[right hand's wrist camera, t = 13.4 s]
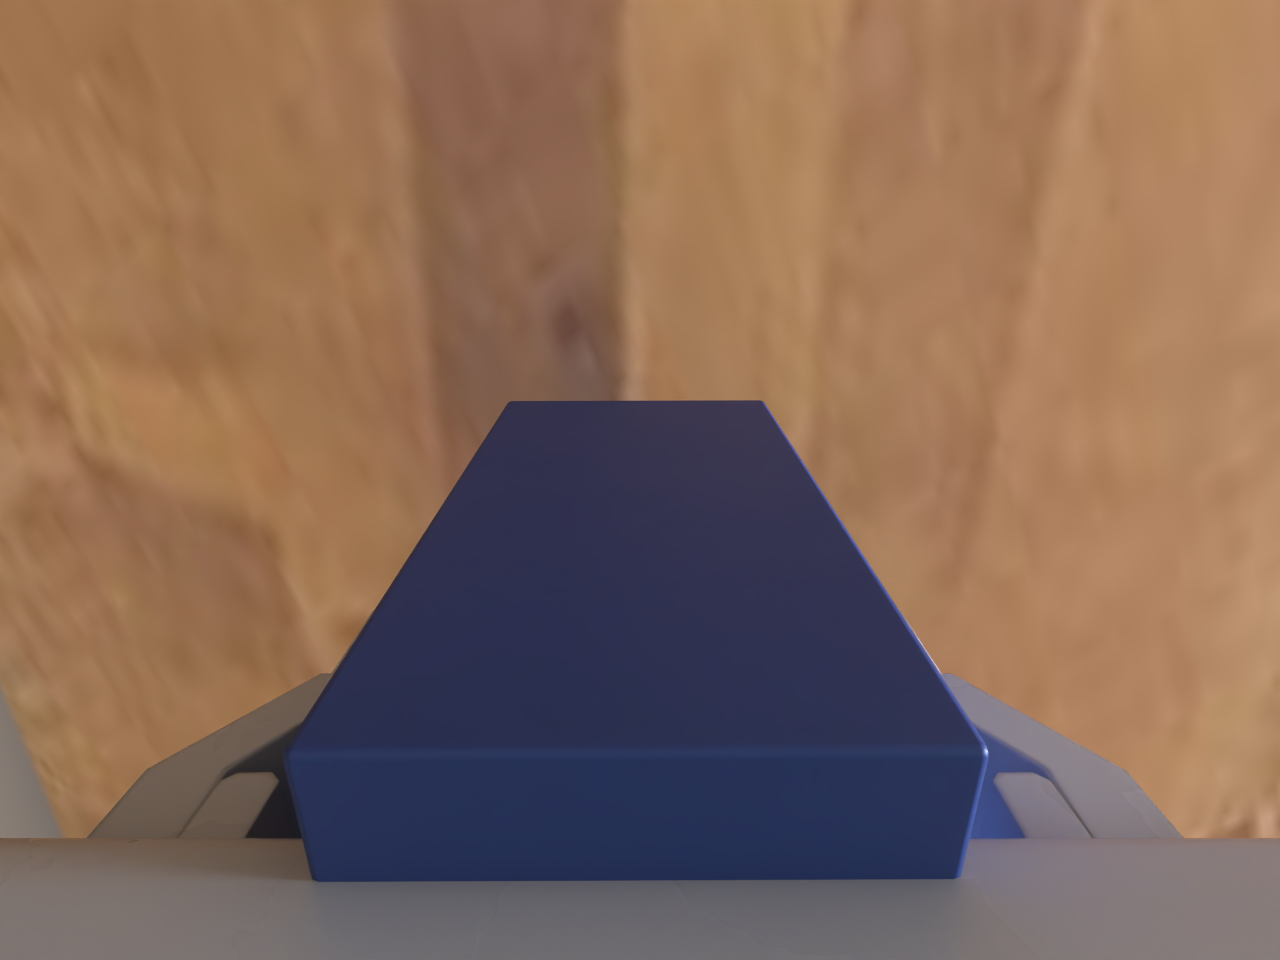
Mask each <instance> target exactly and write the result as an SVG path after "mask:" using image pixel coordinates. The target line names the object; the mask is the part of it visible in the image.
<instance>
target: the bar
mask: <svg viewBox="0 0 1280 960" xmlns="http://www.w3.org/2000/svg"><path fill="white" fill-rule="evenodd" d="M988 759H989V756H988V749H987V746H986V744H985V742H984V741H983V739H982V738H981V736H980V734H979V733H978V731H977V730H976V728H975V727H974V725H973V724H972V722H971V721H970V719H969V717H968V716H967V714H966V713H965V711H964V710H963V708H962V707H961V705H960V704H959V702H958V701H957V699H956V697H955V696H954V694H953V693H952V691H951V690H950V688H949V687H948V685H947V684H946V682H945V680H944V679H943V677H942V676H941V674H940V673H939V671H938V670H937V668H936V667H935V665H934V664H933V662H932V660H931V659H930V657H929V656H928V654H927V653H926V651H925V650H924V648H923V647H922V645H921V644H920V642H919V640H918V639H917V637H916V636H915V634H914V633H913V631H912V630H911V628H910V627H909V625H908V623H907V622H906V620H905V619H904V617H903V616H902V614H901V613H900V611H899V610H898V608H897V607H896V605H895V603H894V602H893V600H892V599H891V597H890V596H889V594H888V593H887V591H886V590H885V588H884V586H883V585H882V583H881V582H880V580H879V579H878V577H877V576H876V574H875V573H874V571H873V570H872V568H871V566H870V565H869V563H868V562H867V560H866V559H865V557H864V556H863V554H862V553H861V551H860V549H859V548H858V546H857V545H856V543H855V542H854V540H853V539H852V537H851V536H850V534H849V533H848V531H847V529H846V528H845V526H844V525H843V523H842V522H841V520H840V519H839V517H838V516H837V514H836V512H835V511H834V509H833V508H832V506H831V505H830V503H829V502H828V500H827V499H826V497H825V496H824V494H823V492H822V491H821V489H820V488H819V486H818V485H817V483H816V482H815V480H814V479H813V477H812V475H811V474H810V472H809V471H808V469H807V468H806V466H805V465H804V463H803V462H802V460H801V459H800V457H799V455H798V454H797V452H796V451H795V449H794V448H793V446H792V445H791V443H790V442H789V440H788V438H787V437H786V435H785V434H784V432H783V431H782V429H781V428H780V426H779V425H778V423H777V422H776V420H775V418H774V417H773V415H772V414H771V412H770V411H769V409H768V408H767V406H766V405H765V403H764V402H763V401H511V402H509V403H508V404H507V405H506V407H505V409H504V410H503V412H502V413H501V415H500V416H499V418H498V419H497V421H496V423H495V424H494V426H493V427H492V429H491V430H490V432H489V433H488V435H487V437H486V438H485V440H484V441H483V443H482V444H481V446H480V447H479V449H478V450H477V452H476V454H475V455H474V457H473V458H472V460H471V461H470V463H469V464H468V466H467V468H466V469H465V471H464V472H463V474H462V475H461V477H460V478H459V480H458V482H457V483H456V485H455V486H454V488H453V489H452V491H451V492H450V494H449V496H448V497H447V499H446V500H445V502H444V503H443V505H442V506H441V508H440V509H439V511H438V513H437V514H436V516H435V517H434V519H433V520H432V522H431V523H430V525H429V527H428V528H427V530H426V531H425V533H424V534H423V536H422V537H421V539H420V541H419V542H418V544H417V545H416V547H415V548H414V550H413V551H412V553H411V555H410V556H409V558H408V559H407V561H406V562H405V564H404V565H403V567H402V568H401V570H400V572H399V573H398V575H397V576H396V578H395V579H394V581H393V582H392V584H391V586H390V587H389V589H388V590H387V592H386V593H385V595H384V596H383V598H382V600H381V601H380V603H379V604H378V606H377V607H376V609H375V610H374V612H373V613H372V615H371V617H370V618H369V620H368V621H367V623H366V624H365V626H364V627H363V629H362V631H361V632H360V634H359V635H358V637H357V638H356V640H355V641H354V643H353V645H352V646H351V648H350V649H349V651H348V652H347V654H346V655H345V657H344V659H343V660H342V662H341V663H340V665H339V666H338V668H337V669H336V671H335V672H334V674H333V676H332V677H331V679H330V680H329V682H328V683H327V685H326V686H325V688H324V690H323V691H322V693H321V694H320V696H319V697H318V699H317V700H316V702H315V704H314V705H313V707H312V708H311V710H310V711H309V713H308V714H307V716H306V718H305V719H304V721H303V722H302V724H301V725H300V727H299V728H298V730H297V731H296V733H295V735H294V736H293V738H292V739H291V741H290V742H289V744H288V745H287V747H286V749H285V752H284V757H283V764H284V768H285V772H286V776H287V780H288V784H289V788H290V792H291V796H292V800H293V804H294V808H295V812H296V816H297V820H298V824H299V828H300V832H301V836H302V840H303V845H304V849H305V853H306V857H307V861H308V865H309V869H310V873H311V877H312V879H313V880H315V881H318V882H409V881H637V880H866V879H956V878H958V877H961V873H962V869H963V865H964V860H965V856H966V852H967V848H968V843H969V839H970V835H971V831H972V827H973V822H974V818H975V814H976V810H977V805H978V801H979V797H980V793H981V789H982V784H983V780H984V776H985V772H986V767H987V763H988Z"/></svg>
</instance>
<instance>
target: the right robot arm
mask: <svg viewBox="0 0 1280 960" xmlns="http://www.w3.org/2000/svg"><path fill="white" fill-rule="evenodd" d="M898 610H899V609H898ZM899 611H900V610H899ZM373 612H374V611H373ZM373 612H372V613H373ZM372 613H371V615H372ZM900 613H901V611H900ZM901 614H902V613H901ZM371 615H370V616H369V618H370V617H371ZM902 616H903V614H902ZM903 617H904V616H903ZM369 618H368V619H367V621H368V620H369ZM904 619H905V617H904ZM905 620H906V619H905ZM367 621H366V622H365V624H366V623H367ZM906 622H907V620H906ZM907 623H908V622H907ZM365 624H364V625H363V627H364V626H365ZM908 625H909V623H908ZM363 627H362V628H361V630H360V631H359V633H358V634H357V636H356V637H355V639H354V641H355V640H356V638H357V637H358V635H359V634H360V632H361V631H362V629H363ZM909 627H910V628H911V626H910V625H909ZM911 630H912V631H913V629H912V628H911ZM913 633H914V634H915V632H914V631H913ZM915 636H916V637H917V635H916V634H915ZM917 639H918V637H917ZM918 640H919V639H918ZM354 641H353V642H352V644H351V645H350V647H349V648H348V650H347V651H346V653H345V654H344V656H343V657H342V659H341V660H340V662H339V663H338V665H337V666H336V668H335V669H334V671H333V672H332V674H320V675H318V676H316V677H314V678H312V679H310V680H309V681H307V682H305V683H303V684H301V685H300V686H298V687H296V688H294V689H292V690H290V691H289V692H287V693H285V694H283V695H281V696H280V697H278V698H276V699H274V700H272V701H270V702H269V703H267V704H265V705H263V706H261V707H259V708H258V709H256V710H254V711H252V712H250V713H249V714H247V715H245V716H243V717H241V718H239V719H238V720H236V721H234V722H232V723H230V724H229V725H227V726H225V727H223V728H221V729H219V730H218V731H216V732H214V733H212V734H210V735H209V736H207V737H205V738H203V739H201V740H199V741H198V742H196V743H194V744H192V745H190V746H188V747H187V748H185V749H183V750H181V751H179V752H178V753H176V754H174V755H172V756H170V757H168V758H167V759H165V760H163V761H161V762H159V763H158V764H156V765H154V766H152V767H150V768H148V769H147V770H146V771H145V772H144V773H143V774H142V775H141V777H140V778H139V779H138V780H137V781H136V782H135V783H134V785H133V786H132V787H131V788H130V789H129V790H128V791H127V793H126V794H125V795H124V796H123V797H122V798H121V799H120V801H119V802H118V803H117V804H116V805H115V806H114V807H113V809H112V810H111V811H110V812H109V813H108V814H107V815H106V817H105V818H104V819H103V820H102V821H101V822H100V823H99V825H98V826H97V827H96V828H95V829H94V830H93V831H92V833H91V834H90V835H89V836H88V837H87V838H0V960H1280V838H1183V837H1182V835H1181V834H1180V833H1179V832H1178V831H1177V830H1176V828H1175V827H1174V826H1173V825H1172V824H1171V822H1170V821H1169V820H1168V819H1167V818H1166V817H1165V815H1164V814H1163V813H1162V812H1161V811H1160V810H1159V808H1158V807H1157V806H1156V805H1155V804H1154V803H1153V801H1152V800H1151V799H1150V798H1149V797H1148V796H1147V794H1146V793H1145V792H1144V791H1143V790H1142V789H1141V787H1140V786H1139V785H1138V784H1137V783H1136V781H1135V780H1134V779H1133V778H1132V777H1131V776H1130V774H1129V773H1128V772H1127V771H1126V770H1124V769H1122V768H1121V767H1119V766H1117V765H1115V764H1114V763H1112V762H1110V761H1108V760H1106V759H1105V758H1103V757H1101V756H1099V755H1097V754H1096V753H1094V752H1092V751H1090V750H1088V749H1087V748H1085V747H1083V746H1081V745H1079V744H1078V743H1076V742H1074V741H1072V740H1070V739H1069V738H1067V737H1065V736H1063V735H1061V734H1060V733H1058V732H1056V731H1054V730H1052V729H1051V728H1049V727H1047V726H1045V725H1043V724H1042V723H1040V722H1038V721H1036V720H1034V719H1033V718H1031V717H1029V716H1027V715H1025V714H1024V713H1022V712H1020V711H1018V710H1016V709H1015V708H1013V707H1011V706H1009V705H1007V704H1006V703H1004V702H1002V701H1000V700H998V699H997V698H995V697H993V696H991V695H989V694H988V693H986V692H984V691H982V690H980V689H979V688H977V687H975V686H973V685H971V684H970V683H968V682H966V681H964V680H962V679H961V678H959V677H957V676H955V675H953V674H941V672H940V671H939V669H938V668H937V666H936V664H935V663H934V661H933V660H932V658H931V657H930V655H929V654H928V652H927V651H926V649H925V648H924V646H923V645H922V643H921V642H920V640H919V642H920V644H921V645H922V647H923V648H924V650H925V651H926V653H927V654H928V656H929V657H930V659H931V660H932V662H933V664H934V665H935V667H936V668H937V670H938V671H939V673H940V674H941V676H942V677H943V679H944V680H945V682H946V684H947V685H948V687H949V688H950V690H951V691H952V693H953V694H954V696H955V697H956V699H957V701H958V702H959V704H960V705H961V707H962V708H963V710H964V711H965V713H966V714H967V716H968V717H969V719H970V721H971V722H972V724H973V725H974V727H975V728H976V730H977V731H978V733H979V734H980V736H981V738H982V739H983V741H984V742H985V744H986V746H987V749H988V756H989V759H988V763H987V767H986V772H985V776H984V780H983V784H982V789H981V793H980V797H979V801H978V805H977V810H976V814H975V818H974V822H973V827H972V831H971V835H970V839H969V843H968V848H967V852H966V856H965V860H964V865H963V869H962V873H961V877H958V878H956V879H866V880H637V881H409V882H318V881H315V880H313V879H312V877H311V873H310V869H309V865H308V861H307V857H306V853H305V849H304V845H303V840H302V836H301V832H300V828H299V824H298V820H297V816H296V812H295V808H294V804H293V800H292V796H291V792H290V788H289V784H288V780H287V776H286V772H285V768H284V764H283V757H284V752H285V749H286V747H287V745H288V744H289V742H290V741H291V739H292V738H293V736H294V735H295V733H296V731H297V730H298V728H299V727H300V725H301V724H302V722H303V721H304V719H305V718H306V716H307V714H308V713H309V711H310V710H311V708H312V707H313V705H314V704H315V702H316V700H317V699H318V697H319V696H320V694H321V693H322V691H323V690H324V688H325V686H326V685H327V683H328V682H329V680H330V679H331V677H332V676H333V674H334V672H335V671H336V669H337V668H338V666H339V665H340V663H341V662H342V660H343V659H344V657H345V655H346V654H347V652H348V651H349V649H350V648H351V646H352V645H353V643H354Z"/></svg>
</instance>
